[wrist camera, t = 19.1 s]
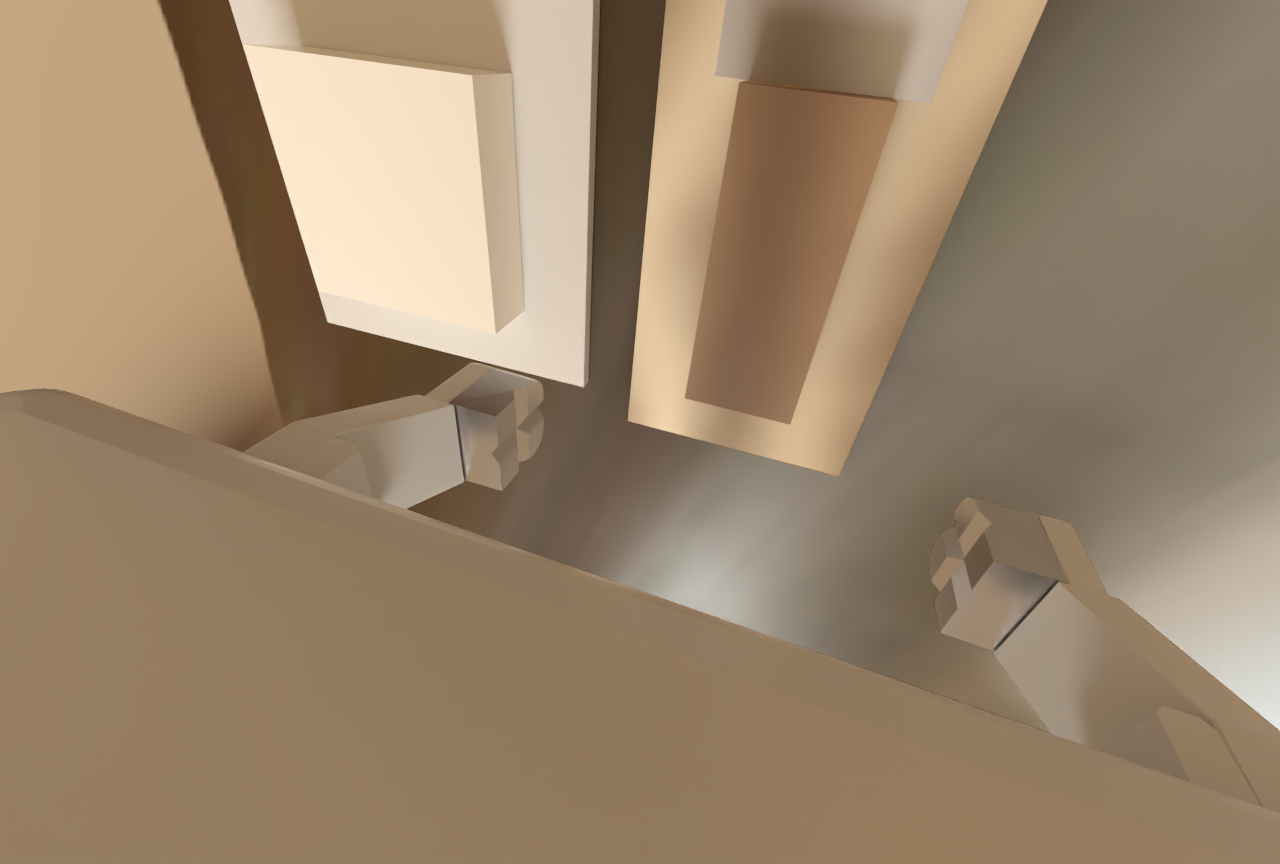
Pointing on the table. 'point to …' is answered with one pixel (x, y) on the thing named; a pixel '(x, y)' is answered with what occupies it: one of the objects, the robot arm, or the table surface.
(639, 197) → the table surface
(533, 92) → the mat
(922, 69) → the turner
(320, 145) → the tile
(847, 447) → the board
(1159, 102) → the table surface
